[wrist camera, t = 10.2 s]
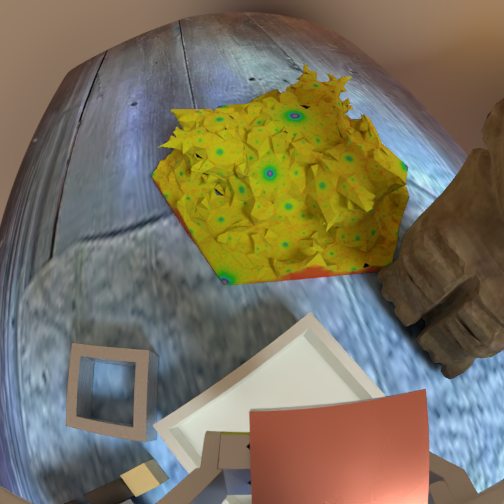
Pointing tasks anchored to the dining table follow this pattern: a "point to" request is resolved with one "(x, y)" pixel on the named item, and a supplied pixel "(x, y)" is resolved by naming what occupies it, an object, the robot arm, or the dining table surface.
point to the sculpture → (457, 262)
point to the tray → (268, 390)
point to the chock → (144, 477)
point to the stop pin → (342, 452)
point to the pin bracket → (83, 385)
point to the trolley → (109, 494)
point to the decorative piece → (285, 186)
